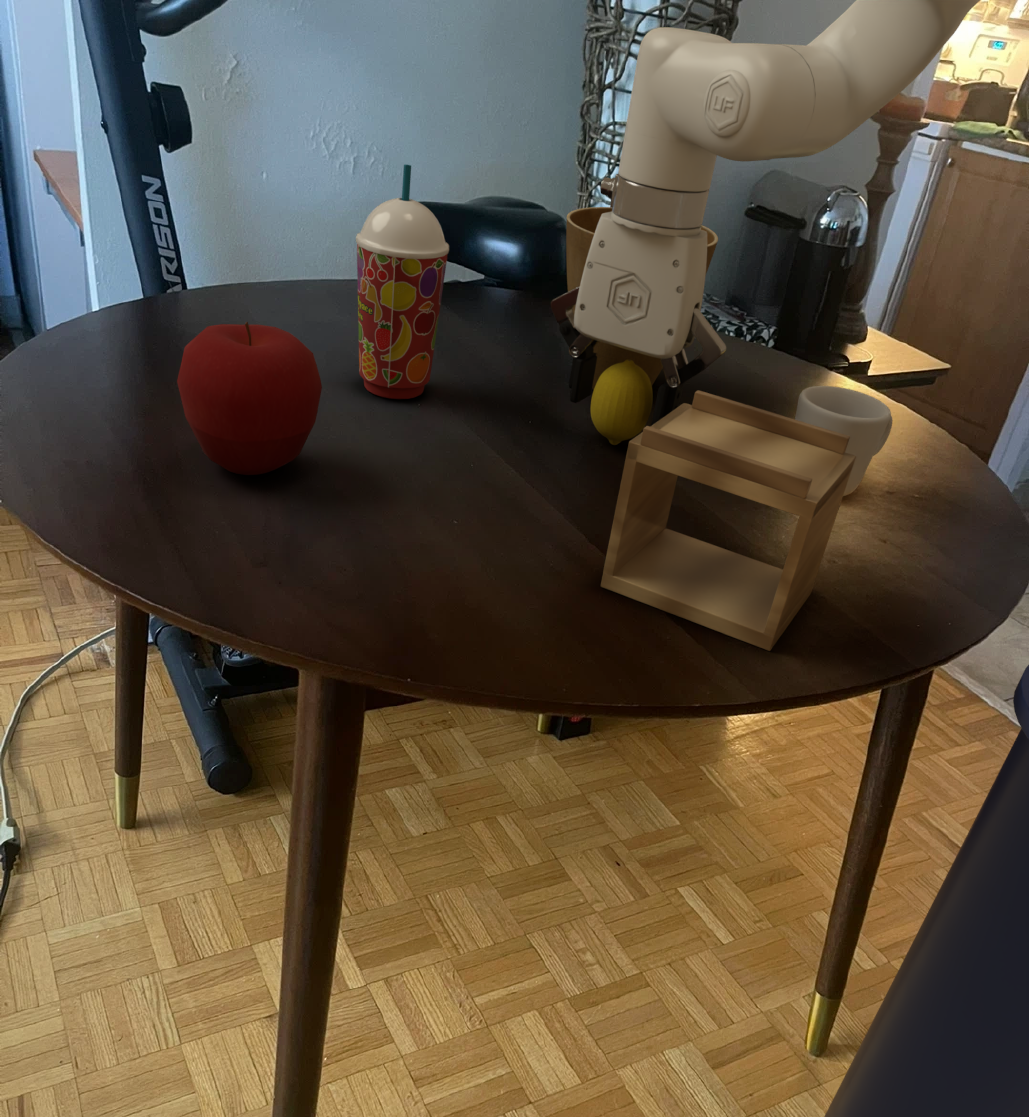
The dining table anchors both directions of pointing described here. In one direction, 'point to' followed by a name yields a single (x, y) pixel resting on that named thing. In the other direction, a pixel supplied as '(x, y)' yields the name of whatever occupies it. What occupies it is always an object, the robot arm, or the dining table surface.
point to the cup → (848, 422)
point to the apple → (249, 395)
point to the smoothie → (399, 294)
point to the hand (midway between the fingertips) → (620, 410)
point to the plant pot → (577, 250)
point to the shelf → (739, 468)
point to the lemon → (621, 401)
